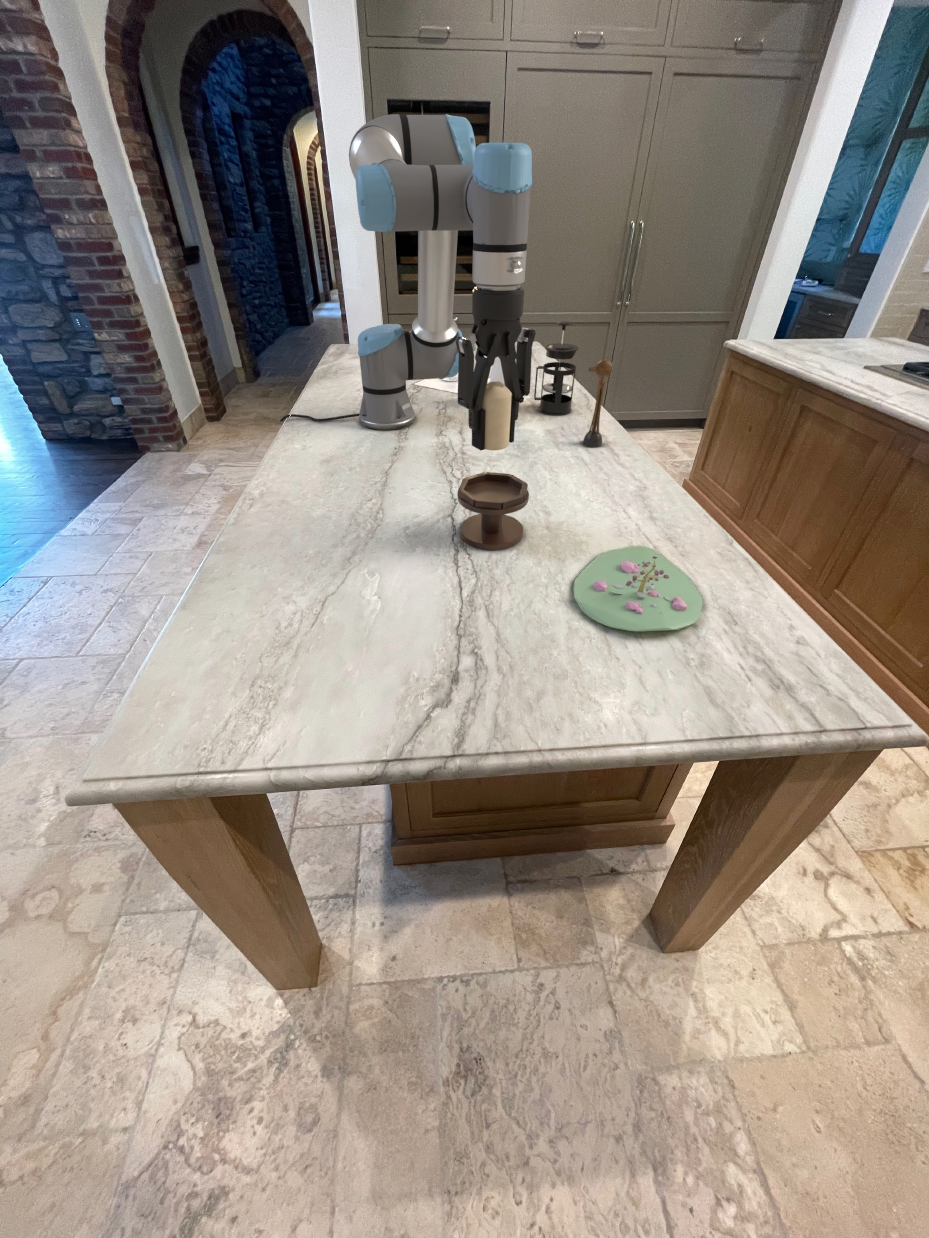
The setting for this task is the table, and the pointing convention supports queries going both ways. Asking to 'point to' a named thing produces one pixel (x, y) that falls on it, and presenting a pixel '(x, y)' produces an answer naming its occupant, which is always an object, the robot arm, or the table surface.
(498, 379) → the salt shaker
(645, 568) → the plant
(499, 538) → the candle stand
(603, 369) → the wooden tabletop sculpture
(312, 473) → the table surface
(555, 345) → the french press
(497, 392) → the candle
